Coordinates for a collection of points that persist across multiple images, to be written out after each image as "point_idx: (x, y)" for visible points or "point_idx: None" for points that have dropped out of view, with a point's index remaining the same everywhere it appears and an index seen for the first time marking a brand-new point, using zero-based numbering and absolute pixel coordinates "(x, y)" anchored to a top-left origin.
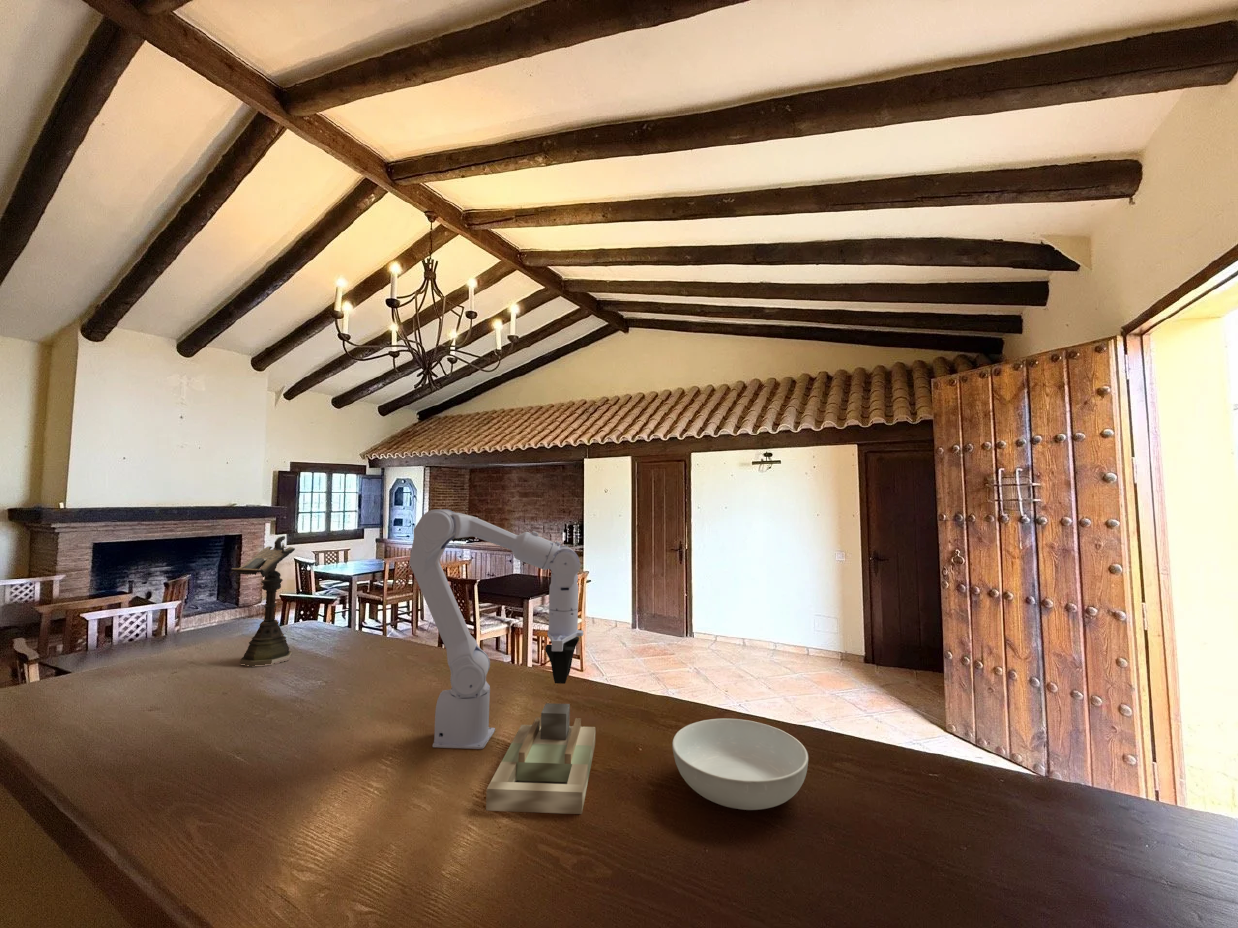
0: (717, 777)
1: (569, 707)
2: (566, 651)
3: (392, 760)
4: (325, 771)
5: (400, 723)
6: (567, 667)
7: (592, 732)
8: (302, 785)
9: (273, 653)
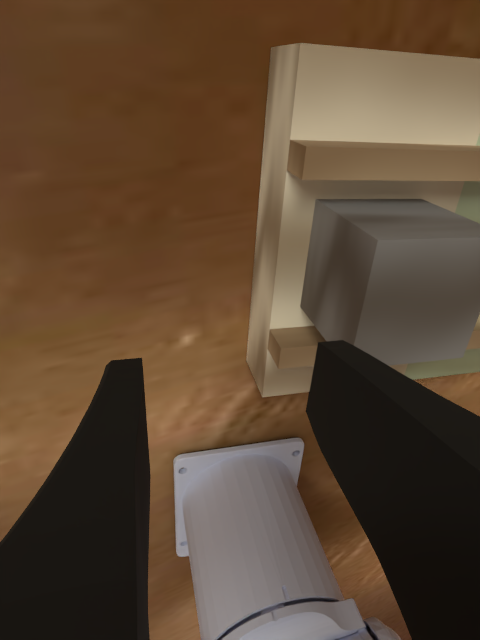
0: None
1: (378, 233)
2: None
3: (332, 555)
4: (357, 603)
5: (152, 633)
6: (477, 418)
7: (366, 61)
8: (395, 598)
9: None
